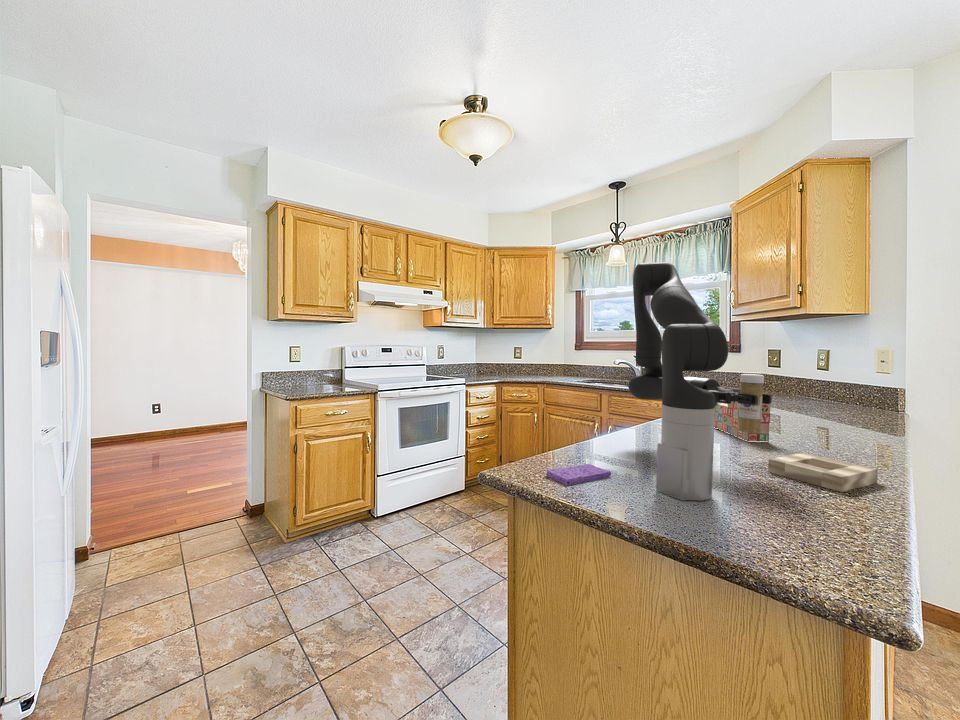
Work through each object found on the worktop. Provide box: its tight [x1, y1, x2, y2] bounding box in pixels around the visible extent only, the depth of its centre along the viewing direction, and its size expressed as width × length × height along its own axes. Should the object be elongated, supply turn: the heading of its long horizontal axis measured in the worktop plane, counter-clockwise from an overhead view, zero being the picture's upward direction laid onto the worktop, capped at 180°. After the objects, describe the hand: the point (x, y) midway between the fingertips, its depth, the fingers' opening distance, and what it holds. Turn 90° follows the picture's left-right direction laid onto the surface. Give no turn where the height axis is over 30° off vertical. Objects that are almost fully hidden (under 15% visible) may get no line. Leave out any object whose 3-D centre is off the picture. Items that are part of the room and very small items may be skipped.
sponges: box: [546, 463, 612, 486], centre depth 89 cm, size 7×13×2 cm, turn 117°
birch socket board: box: [767, 452, 879, 493], centre depth 90 cm, size 14×14×3 cm
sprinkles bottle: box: [738, 373, 765, 434], centre depth 93 cm, size 5×5×14 cm
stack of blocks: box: [714, 403, 772, 442], centre depth 133 cm, size 21×6×12 cm, turn 176°
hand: (763, 399), depth 91 cm, fingers closed on sprinkles bottle, 4 cm apart
